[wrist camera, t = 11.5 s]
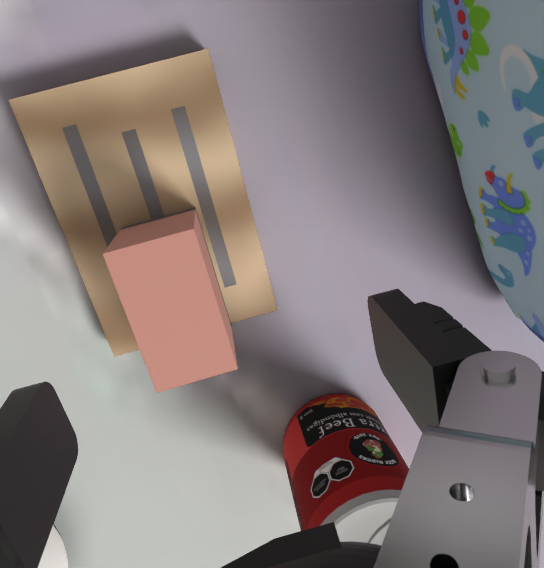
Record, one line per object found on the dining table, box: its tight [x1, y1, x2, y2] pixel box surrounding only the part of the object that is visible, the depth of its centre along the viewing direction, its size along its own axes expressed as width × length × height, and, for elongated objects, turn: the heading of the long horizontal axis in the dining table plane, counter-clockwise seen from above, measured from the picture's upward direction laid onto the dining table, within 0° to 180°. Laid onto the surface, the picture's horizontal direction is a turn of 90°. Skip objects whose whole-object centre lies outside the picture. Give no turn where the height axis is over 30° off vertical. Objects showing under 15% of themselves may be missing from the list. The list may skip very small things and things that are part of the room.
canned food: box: [283, 394, 409, 546], centre depth 32 cm, size 8×8×11 cm
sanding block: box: [103, 207, 238, 393], centre depth 27 cm, size 8×4×6 cm, turn 14°
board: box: [9, 49, 277, 357], centre depth 29 cm, size 16×11×2 cm
